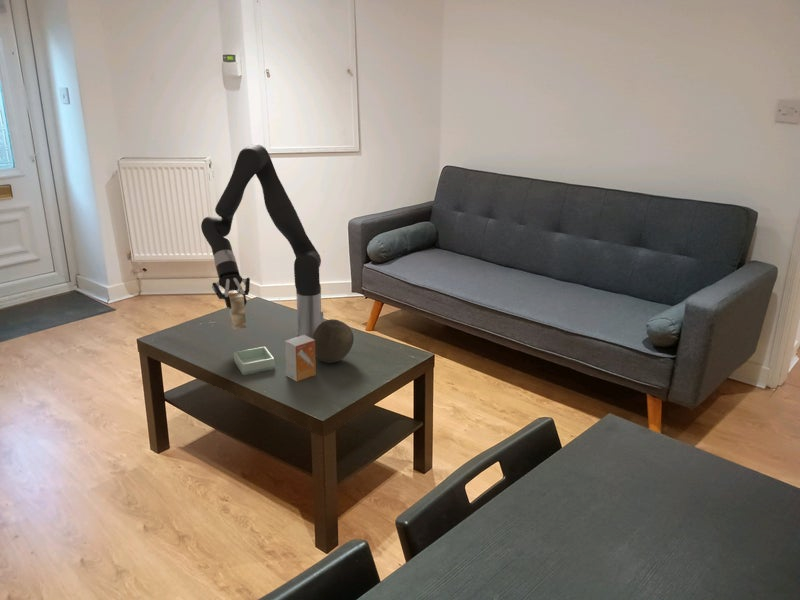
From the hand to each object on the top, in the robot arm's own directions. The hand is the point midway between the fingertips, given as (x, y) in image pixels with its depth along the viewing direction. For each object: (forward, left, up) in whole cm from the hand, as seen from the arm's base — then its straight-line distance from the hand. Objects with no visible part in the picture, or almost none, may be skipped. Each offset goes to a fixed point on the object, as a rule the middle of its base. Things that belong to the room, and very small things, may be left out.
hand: (237, 306), depth 238 cm
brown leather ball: (-27, +23, -17) cm, 39 cm away
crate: (-1, +15, -17) cm, 23 cm away
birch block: (0, -1, -8) cm, 8 cm away
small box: (-13, +29, -17) cm, 36 cm away
